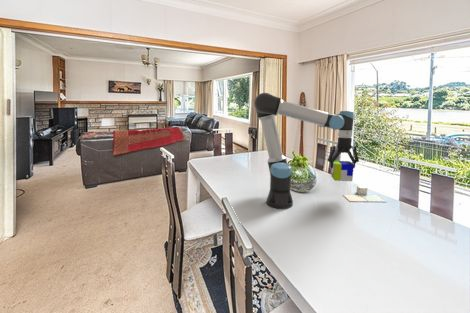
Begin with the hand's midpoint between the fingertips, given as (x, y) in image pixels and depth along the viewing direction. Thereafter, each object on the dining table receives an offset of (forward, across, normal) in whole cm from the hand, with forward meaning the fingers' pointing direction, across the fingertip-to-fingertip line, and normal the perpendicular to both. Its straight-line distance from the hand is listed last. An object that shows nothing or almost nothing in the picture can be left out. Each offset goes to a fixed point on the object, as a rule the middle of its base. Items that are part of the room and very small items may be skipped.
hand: (341, 173), depth 154 cm
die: (+17, +18, +10) cm, 26 cm away
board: (+16, +15, 0) cm, 22 cm away
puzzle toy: (+4, 0, 0) cm, 4 cm away
